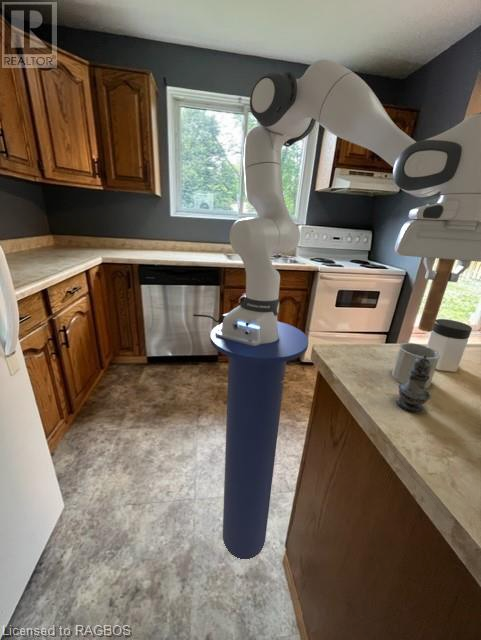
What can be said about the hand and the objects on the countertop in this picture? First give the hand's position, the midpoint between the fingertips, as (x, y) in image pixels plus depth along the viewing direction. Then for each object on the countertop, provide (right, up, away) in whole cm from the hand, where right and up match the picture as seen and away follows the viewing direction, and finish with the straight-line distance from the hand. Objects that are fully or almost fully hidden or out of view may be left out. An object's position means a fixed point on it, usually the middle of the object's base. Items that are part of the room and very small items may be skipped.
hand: (440, 280), depth 59 cm
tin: (-1, -23, +9) cm, 25 cm away
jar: (+12, -21, +17) cm, 30 cm away
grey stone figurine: (-7, -27, -1) cm, 28 cm away
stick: (-1, -11, +4) cm, 12 cm away
